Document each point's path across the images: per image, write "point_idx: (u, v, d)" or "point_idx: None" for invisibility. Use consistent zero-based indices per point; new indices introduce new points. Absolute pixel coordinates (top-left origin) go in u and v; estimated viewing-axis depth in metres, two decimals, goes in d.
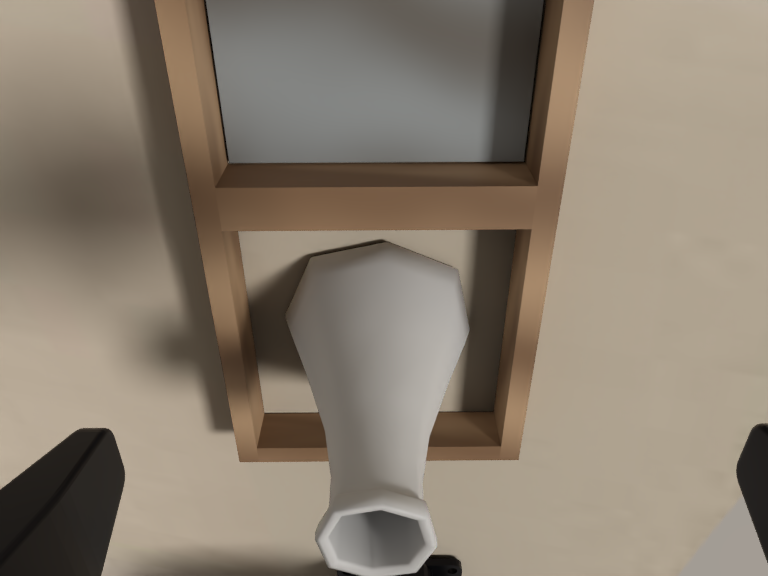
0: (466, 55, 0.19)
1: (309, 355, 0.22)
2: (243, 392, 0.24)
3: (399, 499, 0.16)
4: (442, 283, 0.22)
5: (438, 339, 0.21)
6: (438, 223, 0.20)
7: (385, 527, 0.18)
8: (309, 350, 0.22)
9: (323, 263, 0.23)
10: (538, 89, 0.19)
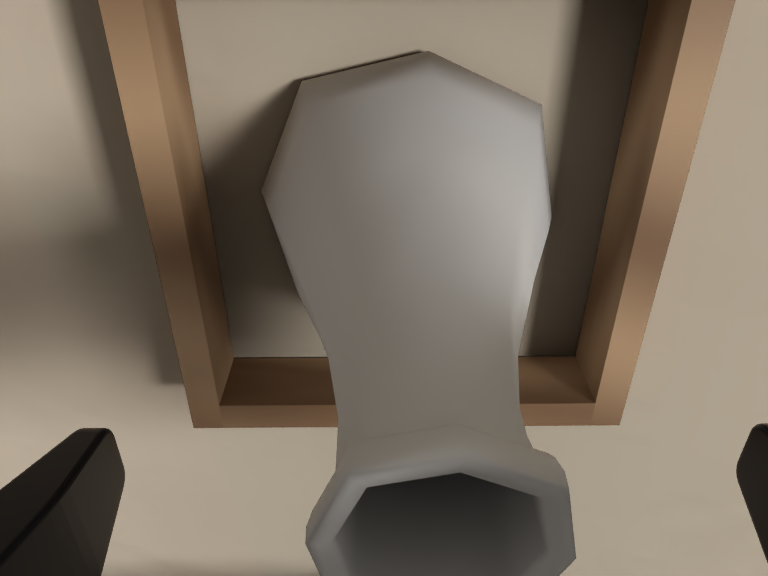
0: None
1: (298, 230, 0.13)
2: (193, 310, 0.15)
3: (500, 447, 0.07)
4: (520, 117, 0.13)
5: (524, 193, 0.12)
6: None
7: (447, 520, 0.09)
8: (298, 221, 0.13)
9: (323, 87, 0.14)
10: None
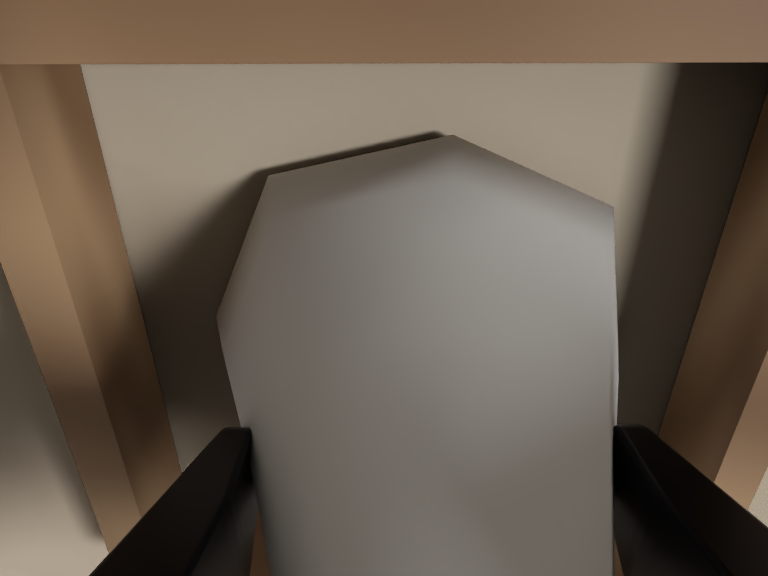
0: None
1: (258, 414, 0.08)
2: (120, 485, 0.11)
3: None
4: (588, 234, 0.09)
5: (608, 375, 0.08)
6: (622, 41, 0.07)
7: None
8: (258, 402, 0.08)
9: (298, 187, 0.09)
10: None
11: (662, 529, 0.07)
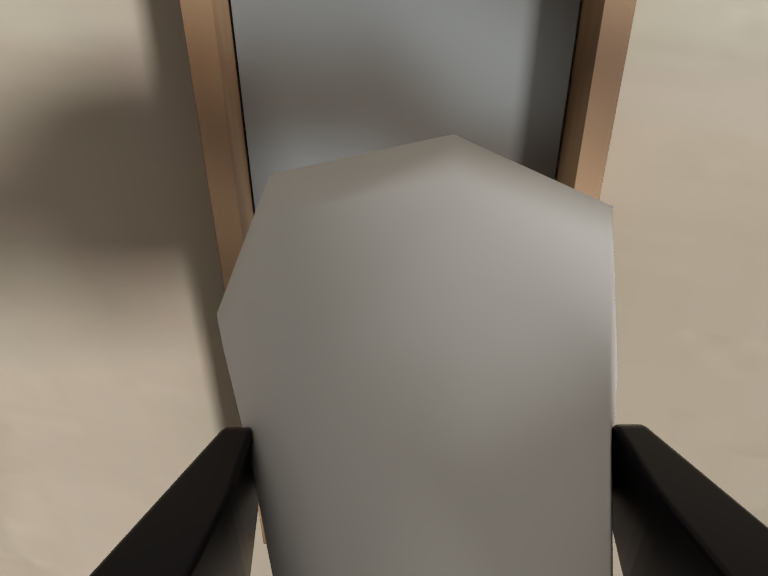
0: None
1: (259, 411, 0.08)
2: None
3: None
4: (587, 234, 0.09)
5: (607, 374, 0.08)
6: None
7: None
8: (259, 399, 0.08)
9: (299, 185, 0.09)
10: None
11: (662, 529, 0.07)
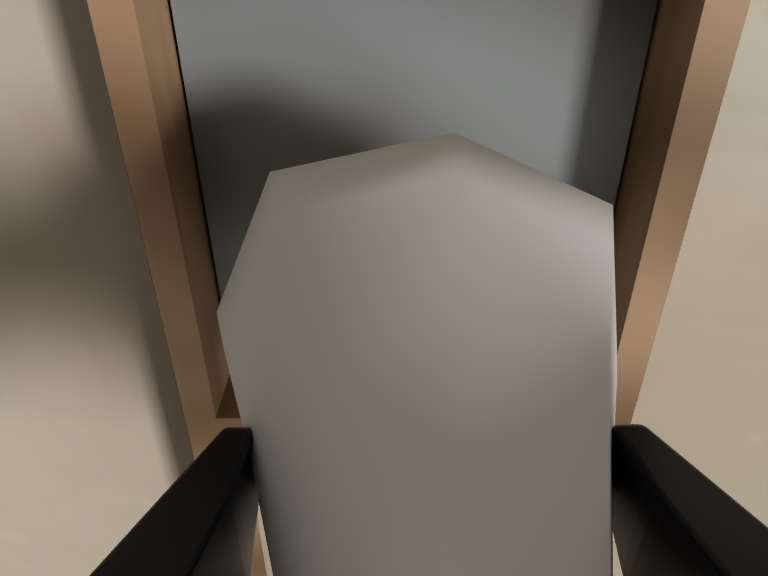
0: None
1: (259, 409, 0.08)
2: None
3: None
4: (588, 232, 0.09)
5: (607, 371, 0.08)
6: None
7: None
8: (259, 397, 0.08)
9: (299, 183, 0.09)
10: None
11: (662, 529, 0.07)
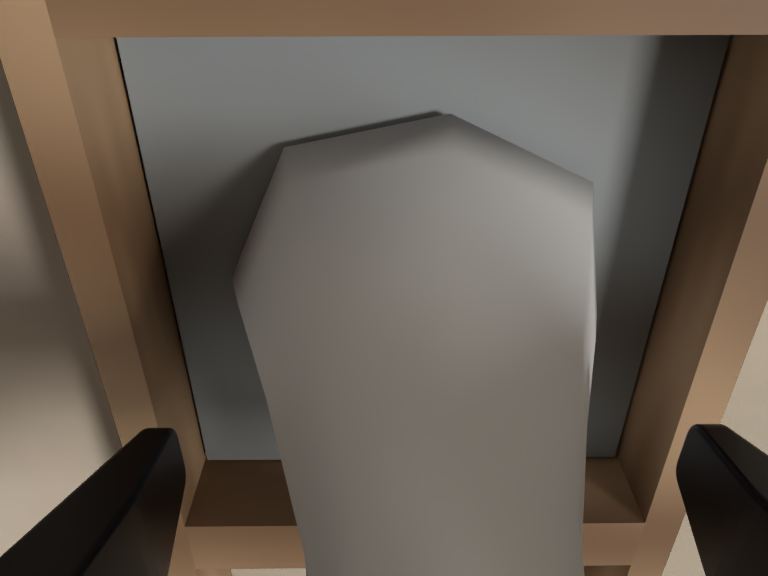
0: None
1: (274, 355, 0.10)
2: None
3: None
4: (569, 204, 0.10)
5: (582, 322, 0.09)
6: None
7: None
8: (274, 345, 0.09)
9: (311, 158, 0.10)
10: (646, 388, 0.14)
11: (757, 528, 0.07)
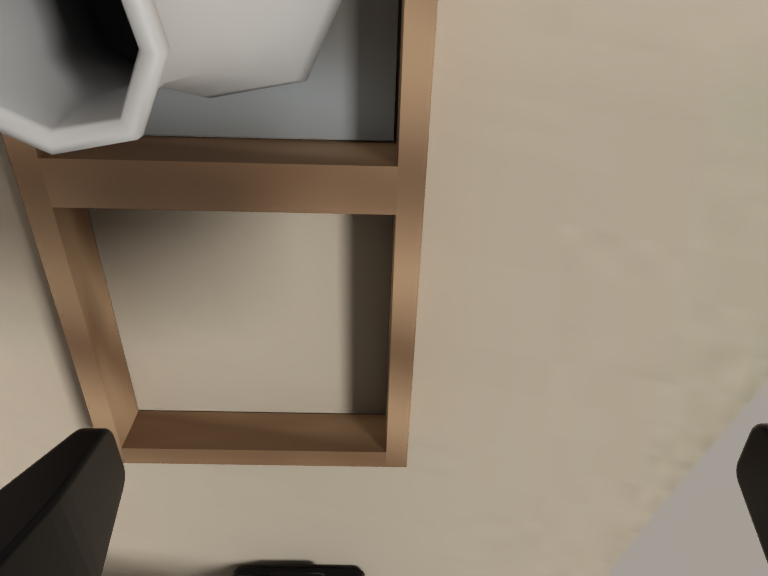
0: None
1: None
2: (98, 387, 0.22)
3: None
4: None
5: None
6: (292, 205, 0.18)
7: (109, 98, 0.10)
8: None
9: None
10: (400, 59, 0.17)
11: None
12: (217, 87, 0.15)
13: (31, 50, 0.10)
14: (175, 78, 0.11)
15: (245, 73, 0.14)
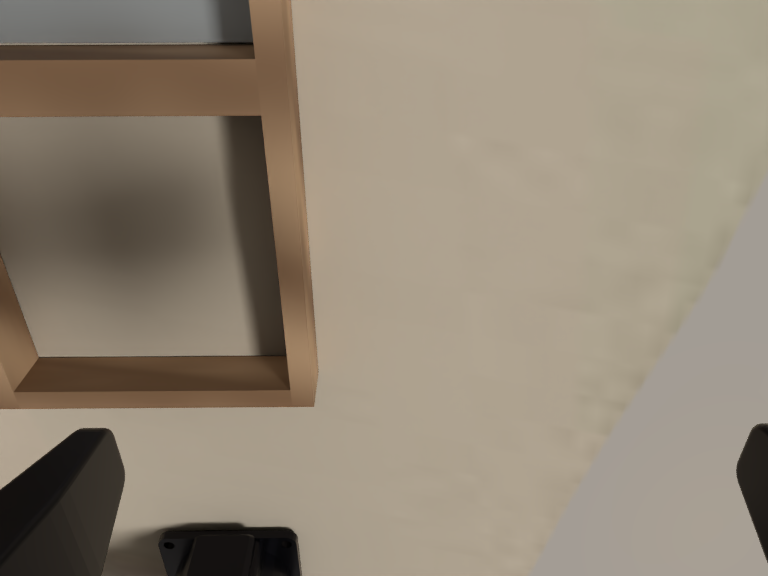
0: None
1: None
2: None
3: None
4: None
5: None
6: (150, 107, 0.17)
7: None
8: None
9: None
10: None
11: None
12: None
13: None
14: None
15: None
